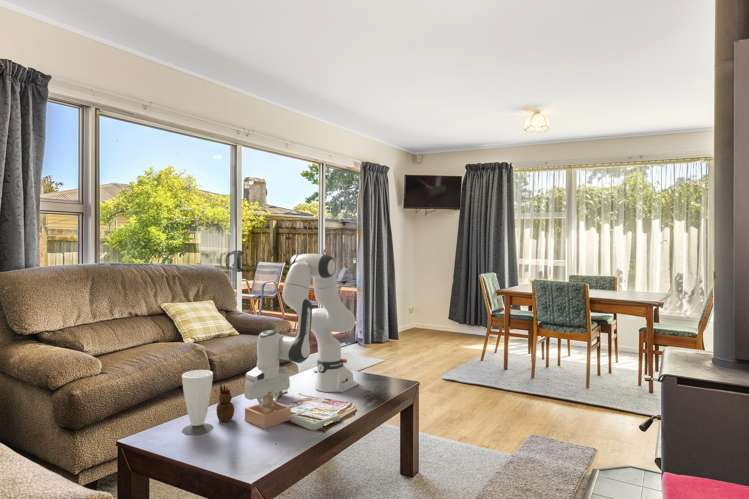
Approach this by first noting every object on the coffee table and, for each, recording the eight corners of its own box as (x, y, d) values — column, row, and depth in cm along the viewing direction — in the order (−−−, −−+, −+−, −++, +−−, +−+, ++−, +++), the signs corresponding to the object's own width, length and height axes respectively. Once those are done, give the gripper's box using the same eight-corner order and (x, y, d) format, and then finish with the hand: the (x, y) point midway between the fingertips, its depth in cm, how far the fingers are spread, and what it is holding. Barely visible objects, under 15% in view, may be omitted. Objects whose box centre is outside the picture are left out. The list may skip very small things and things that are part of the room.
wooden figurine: (213, 422, 199) (213, 384, 198) (222, 417, 204) (222, 380, 204) (227, 424, 196) (227, 386, 196) (236, 419, 202) (236, 382, 201)
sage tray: (316, 412, 210) (316, 406, 210) (339, 420, 201) (339, 414, 201) (290, 421, 200) (290, 415, 200) (313, 430, 191) (313, 424, 191)
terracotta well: (271, 411, 210) (271, 400, 210) (290, 419, 202) (290, 407, 202) (244, 420, 201) (244, 408, 201) (264, 428, 192) (264, 416, 192)
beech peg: (268, 417, 204) (269, 388, 204) (275, 419, 202) (275, 390, 201) (259, 420, 201) (260, 390, 201) (266, 422, 198) (266, 393, 198)
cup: (175, 432, 188) (174, 375, 187) (196, 421, 199) (196, 368, 198) (199, 437, 184) (199, 379, 183) (219, 426, 194) (219, 371, 194)
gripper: (283, 364, 211) (283, 397, 211) (242, 374, 195) (242, 409, 196) (293, 367, 206) (292, 400, 207) (251, 378, 191) (251, 413, 191)
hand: (267, 405), depth 201 cm, fingers closed on beech peg, 4 cm apart
